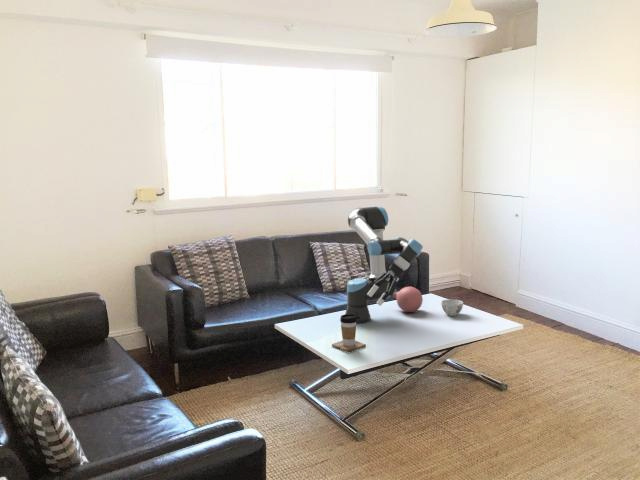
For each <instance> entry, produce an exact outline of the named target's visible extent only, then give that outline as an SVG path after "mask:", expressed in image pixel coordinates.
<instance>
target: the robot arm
mask: <svg viewBox="0 0 640 480" xmlns="http://www.w3.org/2000/svg"><path fill="white" fill-rule="evenodd" d="M347 223H348V226H349V228H350V230H352V231H354V232H356V233H357V234H358V236H359V237H360V238H361V239H362V240H363V242H365V244H366V246H367V252H368V254H369V266H370V275H369V276H368V279H367V278H360V277H358V278H354V279H351V280H349V281H348V282H347V283H346V284H347V285H346V286H347V287H346V294H347V295H346V296H347V297H346V301H347V302H346V303H347V305H346V310H345V313H344V315H345V314H355V315H356V317H357V322H356V324H364V323H368V322H370V321H371V314H370V310H369V307H368V302H369V301H376V304H377V305H379V306H380V307H381V306H382V305H383V304H384V302H386V300H387V299H390V298H391V297H393V296H392V295H393V293H394V292H396V289H397V286H398V285H399V282H400V281H401V279H400V278H401V277H402V276H403V275H404V274H405V271H407V270H408V269H409V268H410V266H411V264H412V263H413V262H414V261H415V260H416V259H417V257H418V255H419V254H420V253H421V251H422V250H423V247H424V246H423V244H421V243H420V242H419V241H418V240H416V239H414V238H411V239H409V240H407V239H406V238H404V237H401V236H397V237H395V238H393V239H384V231H385V230H386V227H387V226H388V224H389V215H388V213H387V210H386V208H384V207H383V206H369V207H357V208H355V209H353V210H351V212H350V213H349V215H348V216H347ZM397 254H398V255H397ZM386 255H397V256H396V258H395V259H394V260H393V262H391V264H390V266H389V267H388V268H389V270H388V269H386V261H385V260H386V259H385V256H386Z"/></svg>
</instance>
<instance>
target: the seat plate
mask: <svg viewBox="0 0 640 480" xmlns="http://www.w3.org/2000/svg"><path fill="white" fill-rule="evenodd" d="M332 346H333V348H334V347H336V348H335V349H337V348H338V349H337V350H340V349H341V351H342V350H343V352H345V351H346V352H345V353H347V352H350V353H353V352H355V351H358V350H361V349H363V348H366V343H364V342H360V341H359V340H358V341H357V340H355V345H354V346H344V345H343V340H340V341H337V342H335V343H332V344H331V347H332ZM360 348H361V349H360ZM357 349H358V350H357ZM352 351H353V352H352Z"/></svg>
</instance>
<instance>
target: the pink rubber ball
mask: <svg viewBox="0 0 640 480" xmlns="http://www.w3.org/2000/svg"><path fill="white" fill-rule="evenodd" d="M391 297H394V298H395V299H396V303H397V304H396V305H397V306H398V308H400V310H402V311H403V312H406V313H415V312H416V311H418V310H419V309H420V308H421V306H422V304H423V301H424V300H423V295H422V293H421V291H420V290H419V289H418V288H416V287H415V286H414V287H413V286H405V287H402V288H401V289H400V290H399V291H397V292H396V291H394V293H393V295H392V296H391Z"/></svg>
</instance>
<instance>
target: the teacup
mask: <svg viewBox="0 0 640 480" xmlns="http://www.w3.org/2000/svg"><path fill="white" fill-rule="evenodd" d="M440 303H441V308H442V310H443V312H444V313H445V314H446V315H447V316H448V317H457V316H458V315H459V313H461V311H462V310H463V307H464V301H462V300H460V299H444V300H441V302H440Z"/></svg>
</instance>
